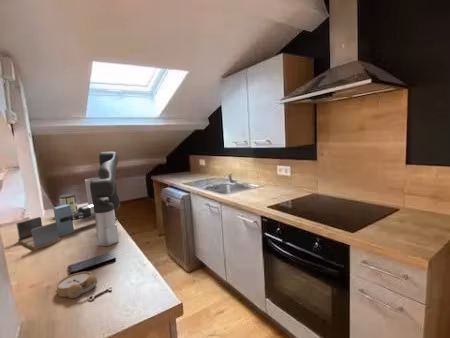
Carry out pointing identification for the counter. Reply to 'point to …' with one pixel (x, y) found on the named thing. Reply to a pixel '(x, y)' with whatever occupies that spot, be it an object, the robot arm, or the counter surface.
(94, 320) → the counter surface
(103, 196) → the robot arm
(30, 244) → the book stand
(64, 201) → the coffee can
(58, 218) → the book
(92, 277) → the alarm clock
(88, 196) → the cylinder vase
